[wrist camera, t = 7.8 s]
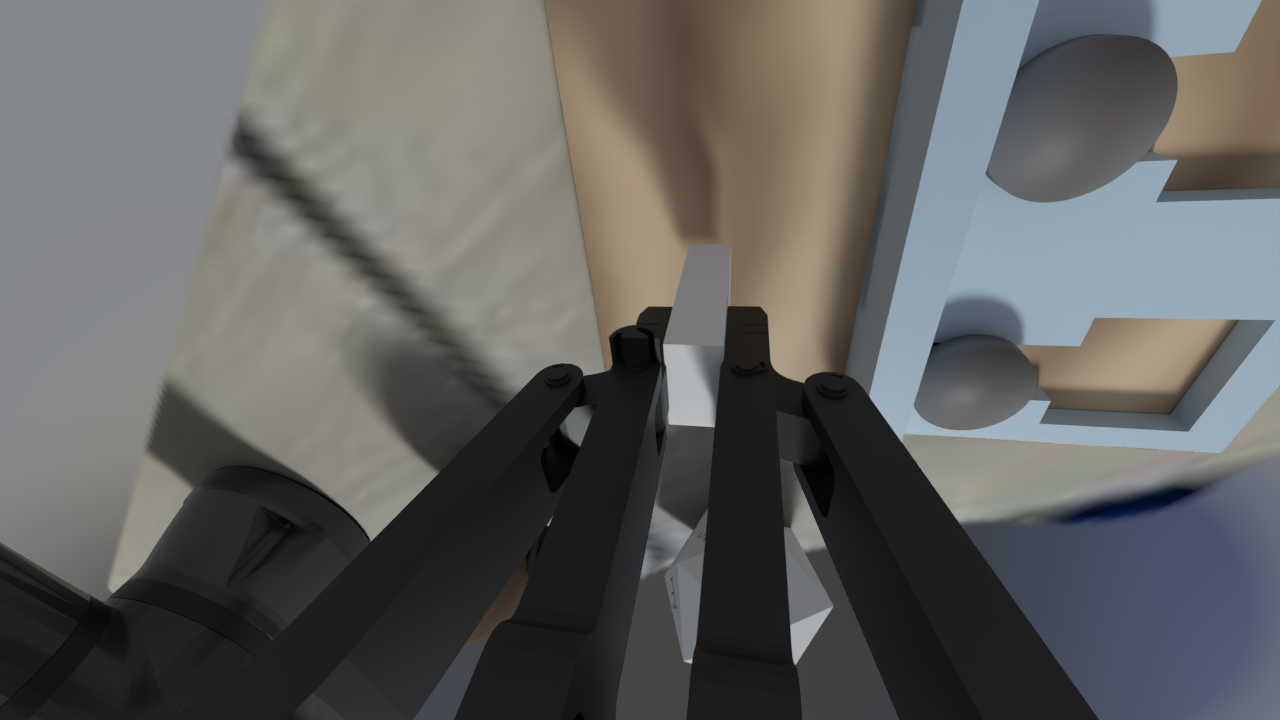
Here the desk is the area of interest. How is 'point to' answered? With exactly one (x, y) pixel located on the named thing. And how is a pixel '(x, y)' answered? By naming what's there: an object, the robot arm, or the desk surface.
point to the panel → (1058, 233)
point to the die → (803, 592)
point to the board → (880, 175)
